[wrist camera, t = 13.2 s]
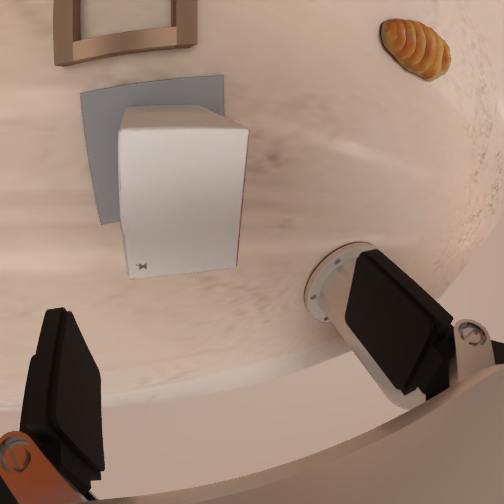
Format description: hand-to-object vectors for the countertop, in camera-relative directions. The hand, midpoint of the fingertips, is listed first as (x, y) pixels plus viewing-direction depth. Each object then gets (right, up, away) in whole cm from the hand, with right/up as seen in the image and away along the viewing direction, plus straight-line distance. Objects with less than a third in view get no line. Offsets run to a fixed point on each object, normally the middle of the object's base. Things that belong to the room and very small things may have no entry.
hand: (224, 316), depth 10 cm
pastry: (+19, +25, +19) cm, 37 cm away
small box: (-7, +11, +16) cm, 21 cm away
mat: (-7, +11, +16) cm, 21 cm away
